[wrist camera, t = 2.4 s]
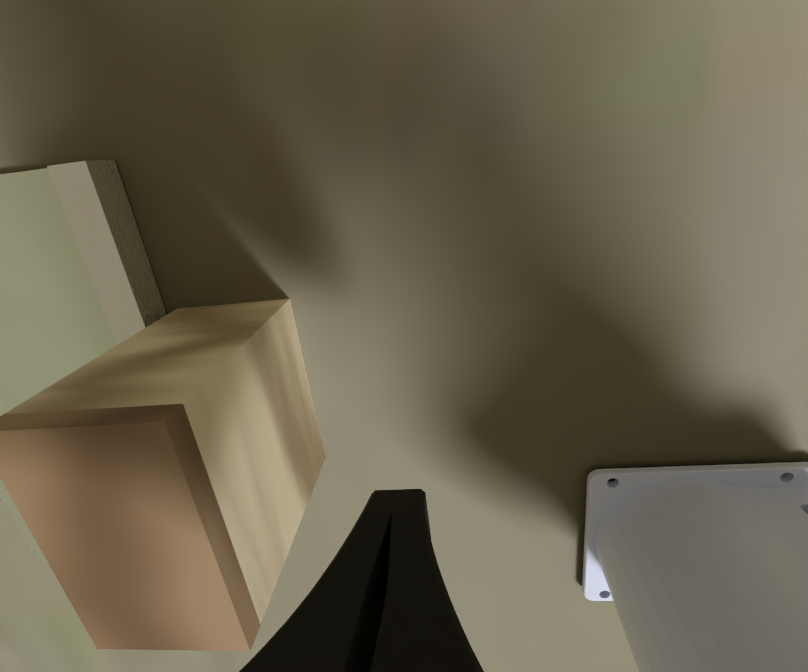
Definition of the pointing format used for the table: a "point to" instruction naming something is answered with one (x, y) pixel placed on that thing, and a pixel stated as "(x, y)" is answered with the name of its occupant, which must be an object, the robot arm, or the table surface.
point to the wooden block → (171, 476)
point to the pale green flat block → (66, 280)
